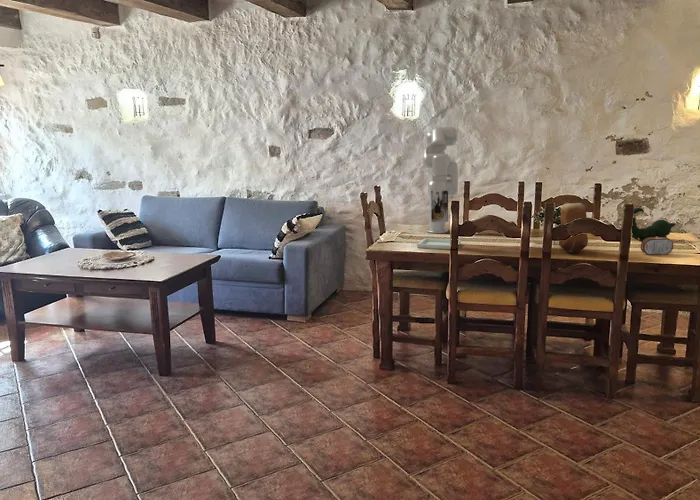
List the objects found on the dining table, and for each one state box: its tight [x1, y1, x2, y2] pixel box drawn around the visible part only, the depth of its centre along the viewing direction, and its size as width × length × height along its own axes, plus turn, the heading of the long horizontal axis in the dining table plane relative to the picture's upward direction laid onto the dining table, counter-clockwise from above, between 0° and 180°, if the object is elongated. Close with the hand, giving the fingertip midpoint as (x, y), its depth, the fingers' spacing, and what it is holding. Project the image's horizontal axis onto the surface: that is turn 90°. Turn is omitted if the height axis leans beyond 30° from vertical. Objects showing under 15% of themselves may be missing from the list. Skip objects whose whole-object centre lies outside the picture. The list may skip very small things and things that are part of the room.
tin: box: [640, 237, 674, 256], centre depth 275 cm, size 15×3×8 cm, turn 92°
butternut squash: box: [558, 202, 589, 254], centre depth 281 cm, size 14×13×25 cm
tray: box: [416, 237, 461, 251], centre depth 307 cm, size 16×20×2 cm
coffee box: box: [431, 191, 449, 223], centre depth 303 cm, size 9×6×16 cm
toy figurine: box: [631, 207, 677, 241], centre depth 306 cm, size 9×19×25 cm
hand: (439, 211), depth 303 cm, fingers closed on coffee box, 7 cm apart
